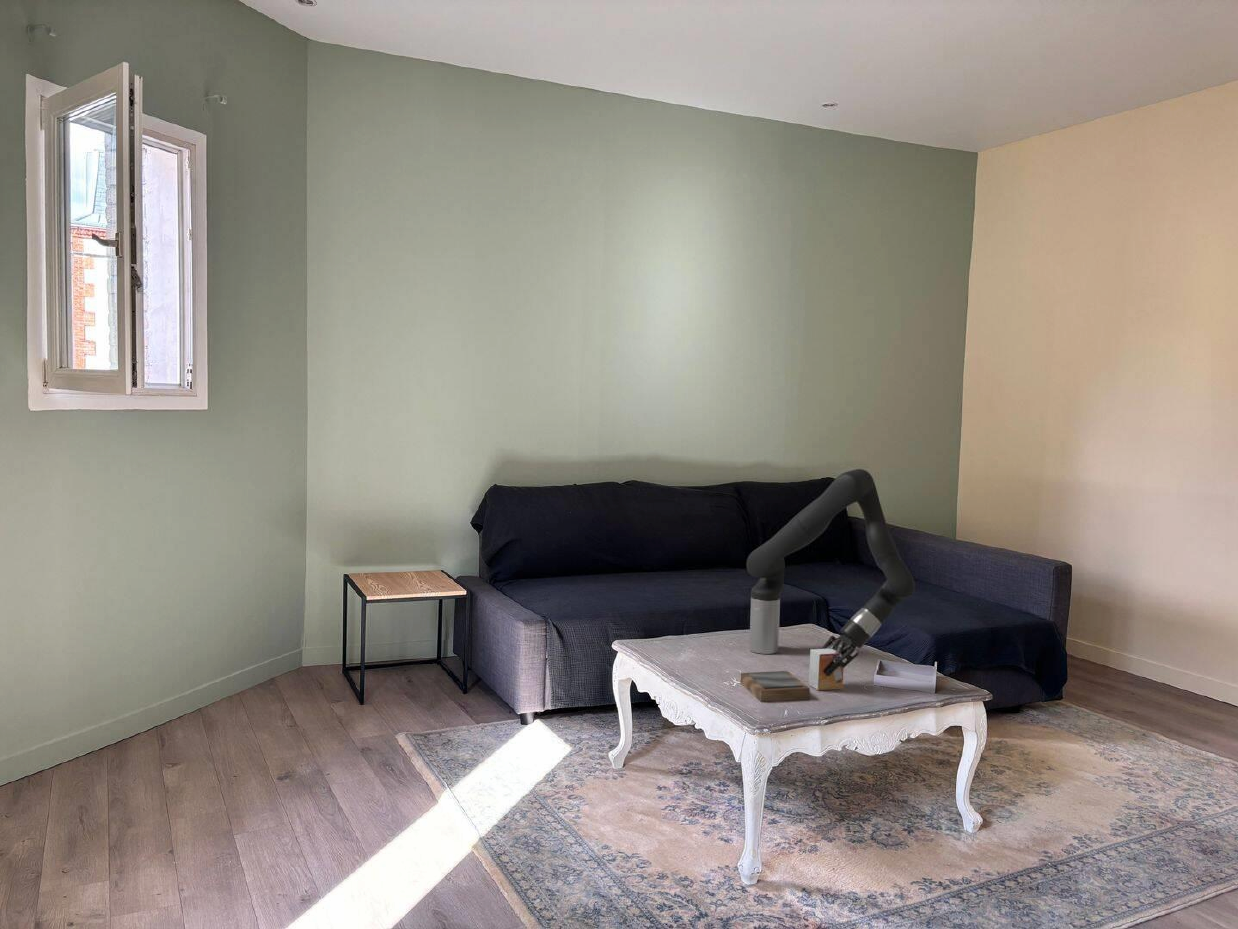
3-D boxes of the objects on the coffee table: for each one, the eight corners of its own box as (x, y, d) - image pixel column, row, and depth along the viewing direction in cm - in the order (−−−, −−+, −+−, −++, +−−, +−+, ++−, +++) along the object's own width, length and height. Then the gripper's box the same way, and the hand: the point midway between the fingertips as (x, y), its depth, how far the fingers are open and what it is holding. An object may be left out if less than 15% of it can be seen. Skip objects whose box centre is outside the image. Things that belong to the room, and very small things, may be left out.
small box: (817, 691, 264) (818, 654, 263) (808, 684, 269) (809, 648, 268) (843, 689, 266) (844, 652, 265) (833, 683, 271) (835, 647, 270)
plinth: (740, 683, 269) (740, 671, 269) (786, 681, 272) (786, 669, 272) (760, 701, 254) (761, 689, 253) (809, 699, 257) (809, 686, 256)
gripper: (841, 612, 274) (801, 654, 273) (864, 625, 260) (823, 669, 259) (857, 630, 276) (818, 671, 274) (881, 643, 262) (840, 687, 260)
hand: (820, 670), depth 266 cm, fingers closed on small box, 5 cm apart
